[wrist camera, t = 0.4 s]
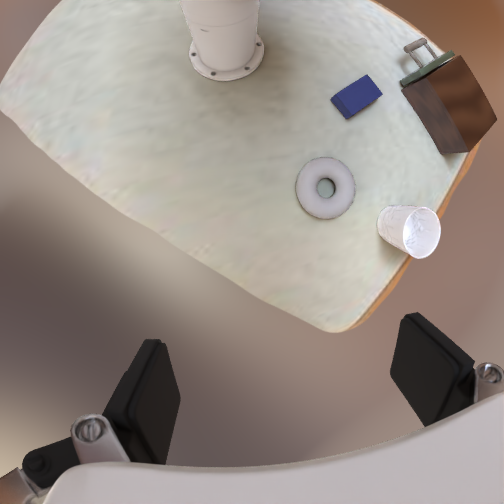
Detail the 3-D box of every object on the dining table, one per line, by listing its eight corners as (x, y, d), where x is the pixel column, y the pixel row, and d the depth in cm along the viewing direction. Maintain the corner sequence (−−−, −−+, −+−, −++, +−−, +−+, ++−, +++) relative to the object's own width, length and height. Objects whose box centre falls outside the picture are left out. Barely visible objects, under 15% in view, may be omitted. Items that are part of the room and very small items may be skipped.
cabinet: (400, 90, 39) (426, 77, 30) (436, 66, 37) (460, 55, 29) (440, 154, 42) (469, 152, 33) (471, 123, 40) (497, 119, 32)
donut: (359, 176, 43) (310, 146, 42) (368, 176, 40) (316, 144, 38) (334, 227, 45) (283, 200, 44) (342, 231, 42) (287, 201, 40)
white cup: (415, 221, 45) (447, 230, 35) (391, 253, 46) (421, 268, 37) (391, 192, 44) (422, 196, 34) (365, 225, 45) (394, 236, 35)
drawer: (383, 60, 37) (400, 47, 30) (419, 41, 35) (436, 29, 28) (438, 139, 40) (460, 136, 34) (467, 112, 39) (487, 108, 32)
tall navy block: (346, 119, 41) (352, 115, 38) (330, 99, 40) (335, 94, 37) (375, 98, 40) (383, 94, 37) (360, 79, 39) (367, 74, 36)
